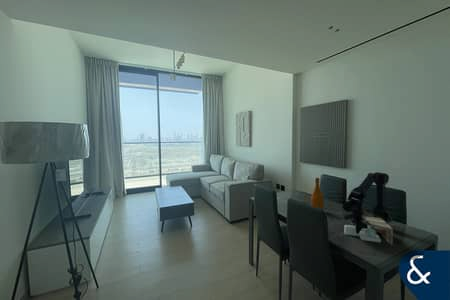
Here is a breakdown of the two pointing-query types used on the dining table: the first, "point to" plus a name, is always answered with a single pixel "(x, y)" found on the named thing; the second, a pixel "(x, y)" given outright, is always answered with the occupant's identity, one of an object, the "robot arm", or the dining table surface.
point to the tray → (362, 233)
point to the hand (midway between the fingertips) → (356, 232)
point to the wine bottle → (317, 196)
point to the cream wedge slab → (381, 228)
